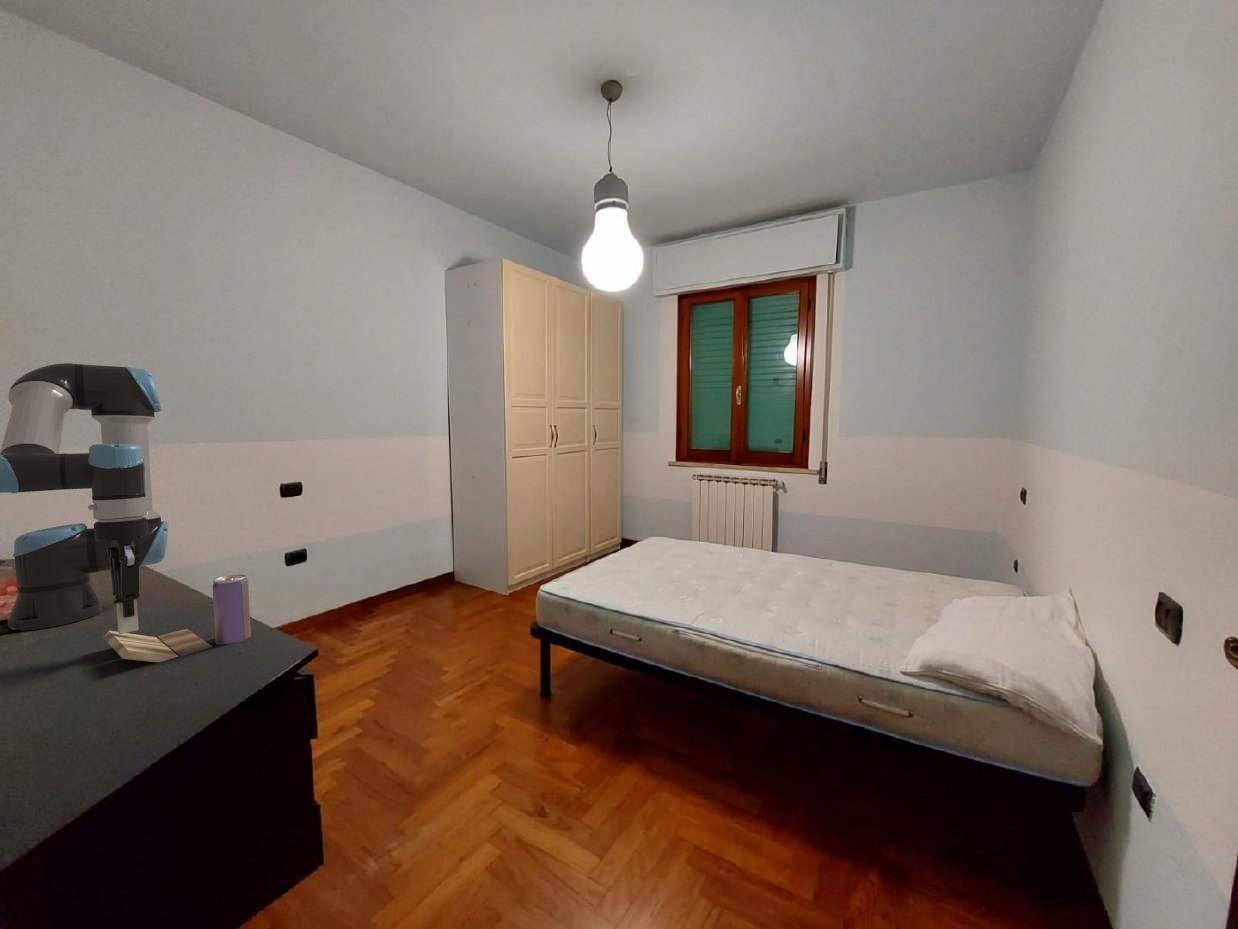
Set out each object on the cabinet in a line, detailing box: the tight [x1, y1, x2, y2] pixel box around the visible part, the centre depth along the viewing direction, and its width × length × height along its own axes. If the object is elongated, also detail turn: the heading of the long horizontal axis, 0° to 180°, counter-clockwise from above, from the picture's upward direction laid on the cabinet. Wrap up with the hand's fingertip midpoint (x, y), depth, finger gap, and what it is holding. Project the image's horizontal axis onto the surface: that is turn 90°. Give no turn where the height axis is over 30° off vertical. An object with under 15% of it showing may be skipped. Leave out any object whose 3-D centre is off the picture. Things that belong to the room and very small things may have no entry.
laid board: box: [156, 628, 213, 657], centre depth 100 cm, size 17×5×2 cm, turn 57°
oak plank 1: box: [103, 630, 167, 648], centre depth 97 cm, size 8×8×2 cm
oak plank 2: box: [112, 640, 179, 663], centre depth 92 cm, size 8×8×2 cm
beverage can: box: [212, 573, 252, 645], centre depth 101 cm, size 6×6×15 cm
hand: (128, 631), depth 96 cm, fingers closed
